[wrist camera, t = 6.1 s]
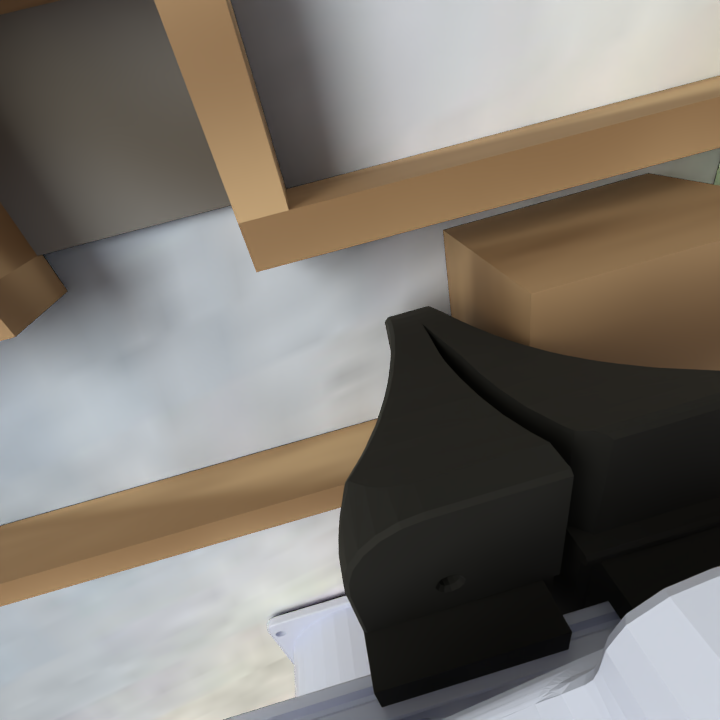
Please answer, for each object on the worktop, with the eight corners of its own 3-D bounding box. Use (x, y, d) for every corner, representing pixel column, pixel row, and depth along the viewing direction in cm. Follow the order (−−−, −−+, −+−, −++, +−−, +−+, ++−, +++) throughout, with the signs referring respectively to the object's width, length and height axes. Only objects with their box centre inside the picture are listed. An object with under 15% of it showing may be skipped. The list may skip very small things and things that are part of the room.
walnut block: (620, 326, 14) (748, 406, 10) (456, 373, 14) (525, 473, 10) (648, 173, 11) (839, 206, 7) (442, 230, 11) (531, 293, 7)
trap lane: (664, 433, 18) (714, 474, 16) (62, 609, 17) (33, 678, 15) (887, -276, 7) (1118, -420, 5) (-653, 85, 6) (-1077, 75, 4)
